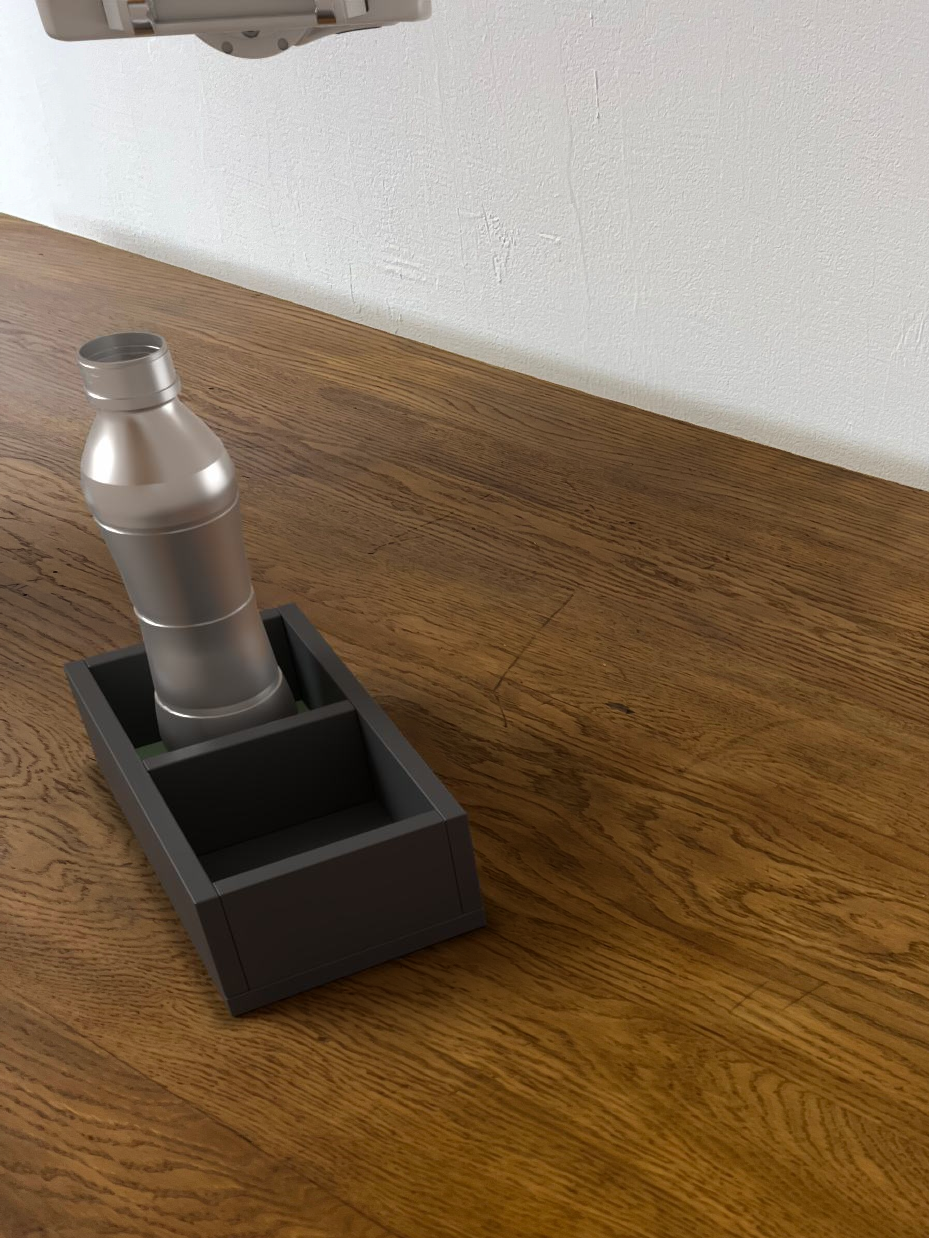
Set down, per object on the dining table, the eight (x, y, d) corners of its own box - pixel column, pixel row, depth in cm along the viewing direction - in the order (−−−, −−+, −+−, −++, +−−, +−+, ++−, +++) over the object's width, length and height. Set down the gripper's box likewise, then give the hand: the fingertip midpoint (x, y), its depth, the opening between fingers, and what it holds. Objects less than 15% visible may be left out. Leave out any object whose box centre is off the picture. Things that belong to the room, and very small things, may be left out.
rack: (232, 1017, 66) (194, 904, 62) (100, 770, 79) (61, 663, 75) (487, 925, 70) (467, 813, 66) (319, 705, 84) (294, 601, 80)
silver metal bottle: (299, 720, 80) (194, 309, 67) (320, 789, 76) (212, 363, 62) (168, 746, 79) (33, 330, 65) (182, 819, 74) (40, 388, 60)
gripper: (27, -97, 85) (-8, -54, 75) (410, -115, 88) (424, -76, 78) (65, 39, 89) (36, 96, 80) (428, 17, 93) (444, 70, 83)
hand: (232, 11), depth 79 cm, fingers open, 8 cm apart
